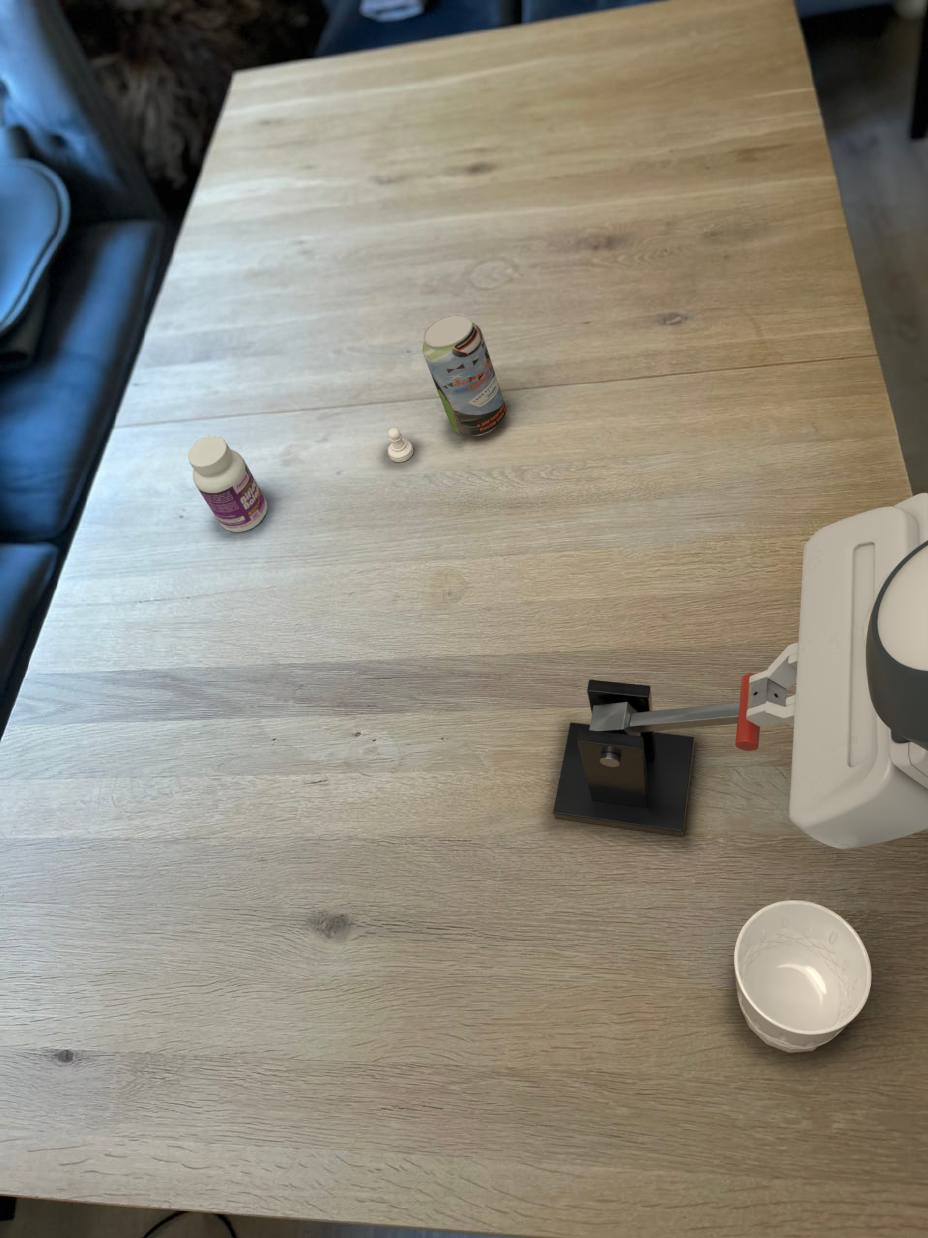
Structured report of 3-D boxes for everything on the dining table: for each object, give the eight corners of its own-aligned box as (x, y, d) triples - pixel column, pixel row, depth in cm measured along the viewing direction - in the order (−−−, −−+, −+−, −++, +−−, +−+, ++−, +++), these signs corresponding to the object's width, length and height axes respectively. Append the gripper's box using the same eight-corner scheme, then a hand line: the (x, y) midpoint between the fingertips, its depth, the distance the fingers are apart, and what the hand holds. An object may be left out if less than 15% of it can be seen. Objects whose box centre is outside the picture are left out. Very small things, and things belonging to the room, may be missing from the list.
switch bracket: (694, 743, 80) (693, 670, 70) (682, 837, 76) (680, 775, 66) (571, 728, 83) (554, 657, 73) (554, 818, 79) (533, 756, 69)
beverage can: (482, 453, 101) (458, 365, 91) (431, 425, 105) (403, 337, 95) (522, 414, 103) (502, 324, 93) (470, 388, 107) (446, 298, 97)
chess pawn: (410, 462, 102) (402, 439, 100) (387, 462, 103) (378, 439, 100) (416, 444, 104) (407, 420, 101) (392, 443, 104) (384, 420, 101)
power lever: (770, 686, 66) (755, 668, 65) (764, 753, 64) (749, 737, 62) (612, 703, 74) (596, 688, 72) (602, 764, 71) (585, 750, 70)
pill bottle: (267, 529, 101) (231, 466, 93) (218, 538, 102) (178, 476, 94) (270, 489, 104) (234, 425, 96) (222, 498, 105) (183, 435, 97)
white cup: (852, 1071, 65) (874, 1044, 57) (728, 1053, 67) (732, 1024, 59) (848, 950, 69) (869, 907, 61) (731, 936, 71) (736, 893, 63)
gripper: (915, 454, 56) (732, 547, 67) (920, 790, 46) (703, 836, 57) (983, 508, 58) (796, 589, 69) (1003, 838, 48) (780, 873, 59)
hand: (754, 703), depth 63 cm, fingers closed
